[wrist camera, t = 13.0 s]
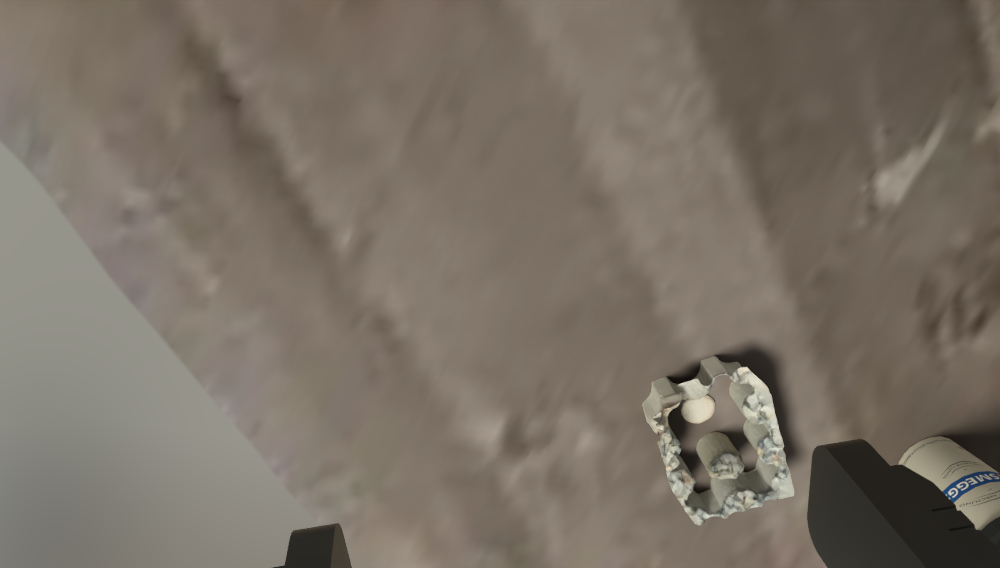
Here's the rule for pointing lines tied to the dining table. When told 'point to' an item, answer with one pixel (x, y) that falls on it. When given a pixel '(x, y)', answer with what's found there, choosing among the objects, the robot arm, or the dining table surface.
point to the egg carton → (721, 443)
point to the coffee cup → (960, 481)
